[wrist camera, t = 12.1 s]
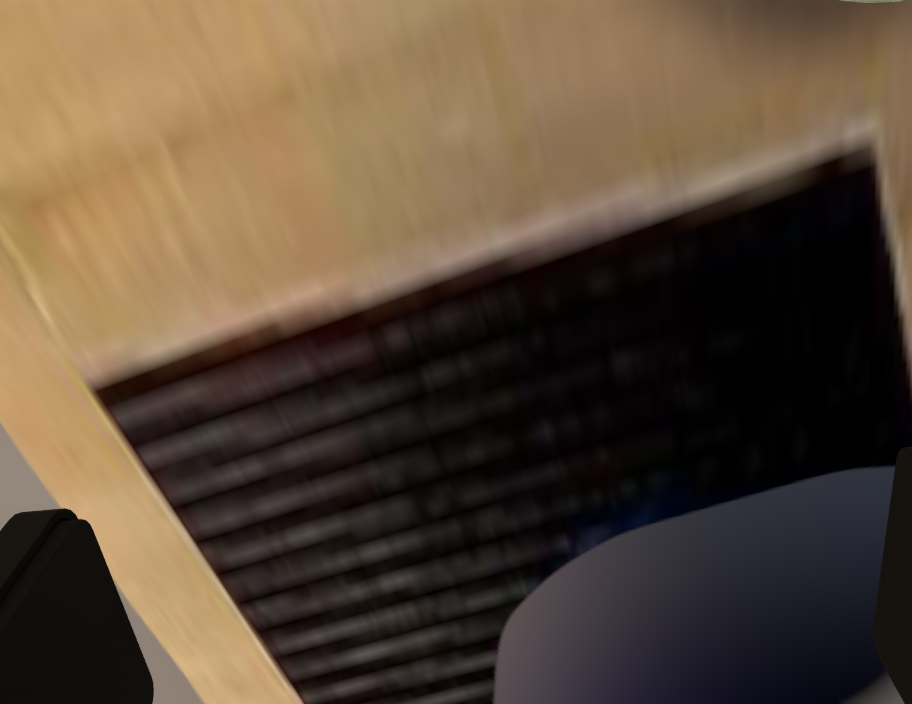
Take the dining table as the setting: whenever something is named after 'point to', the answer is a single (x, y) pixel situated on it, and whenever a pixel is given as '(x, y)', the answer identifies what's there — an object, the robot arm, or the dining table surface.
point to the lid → (873, 1)
